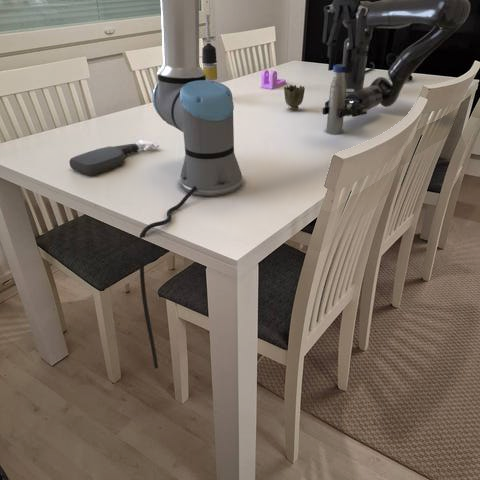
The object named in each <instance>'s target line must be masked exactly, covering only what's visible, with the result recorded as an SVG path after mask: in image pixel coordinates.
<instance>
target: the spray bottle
mask: <svg viewBox="0 0 480 480" xmlns="http://www.w3.org/2000/svg"><path fill="white" fill-rule="evenodd" d="M159 148H160V145H159V144H158V143H155V142H151V141H148V140H144V139H139V140H138V141H137V142H135V143H129V144H128V143H126V144H122V145H113V146H105V147H100V148H97V149H94V150H90V151H87V152H83V153H81V154H78V155H74V156H73V157H70V159H69V161H68V162H69V167H70V168H71V169H72V170H74V171H75V172H78V173H81V174H83V175H85V176H89V177H90V176H91V177H92V176H95V175H99V174H102V173H105V172H107V171H110V170H113V169H116V168H118V167H120V166H122V165H123V164H124V163H125V158H126V156H127V155H131V154H133V153H138V151H140V150H143V151H144V152H146V151H147V150H149V149H159Z"/></svg>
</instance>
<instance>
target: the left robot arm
mask: <svg viewBox="0 0 480 480" xmlns="http://www.w3.org/2000/svg"><path fill="white" fill-rule="evenodd" d="M360 1H361V0H333V1H332V3H331V4H329V5H324V6H323V12H324V21H323V31H322V32H323V33H322V43H323V44H325V45H327V58H328V67H327V70H328V71H333V65H335V64H337V59H338V45H337V44H338V43H337V40H338V37H339V34H340V31H341V27H342V24H343V20H344V19H346V23H347V26H348V28H347V37H348V38H349V46H350V47H349V48H348V49H347V54H346V63H345V73H350V72H352V67H353V61H355V59H356V52H357V48H358V47H361V46H363V45H364V38H365V29H366V19H367V15H368V13H369V8H368V7H366V8H365V7H363V6H361V2H360ZM358 11H359V12H358ZM357 12H358V14H359V16H358V23H357V29H356V21H357V19H356V13H357ZM160 13H161V16H160V17H161V36H162V37H161V39H162V58H163V59H162V61H163V64H162V66H161V67H160V68H159V69H158V71H157V83H156V85H155V86H154V87H153V91H152V105H153V107H154V110H155V112H156V113H157V115H158V116H159V117H160V118H161V119H162V120H163V121H164V122H165V123H166V124H168V125H169V126H171V127H174V128H176V129H177V130H179V131H180V132H182V133H183V141H184V142H183V143H184V154H185V155H184V158H183V164H182V168H181V171H180V177H179V178H180V179H179V183H180V184H179V185H180V188H181V189H182V191H184V192H186V194H185V196H183V198H182V199H181V200H180V201H179V202H178V203H177V204H176V205H174V206H172V207H170V208H169V209H168V210H166V217H167V218H166V219H164V220H161V221H160V220H159V221H156V222H151V223H150V224H148V225H146V226H145V227H144V228H143V229H142V231H141V232H140V235H139V238H140V239H143V238H144V237H145V236H146V234H147V233H148V232H149V230H151V229H153V228H156V227H159V226H165V225H167V224H168V223H170V222H171V220H172V213H173V212H175V211H177V210H178V209H180V208H181V207H182V206H183V205H184V204H185V203H186V202H187V200H188V199H189V198H190V197H191V196H192V195H194V196H199V197H221V196H224V195H229V194H232V193H234V192H235V191H237V190H239V189H240V188H241V187H242V185H243V174H242V171H241V168H240V165H239V163H238V160H237V157H236V154H235V132H234V131H235V130H234V127H235V126H234V109H235V105H234V100H233V93H232V91H231V89H230V88H229V87H228V86H227V85H226V84H223V83H221V82H219V81H215V82H211V81H208V80H206V73H205V71H204V70H203V67H201V65H200V0H160ZM139 278H140V290H141V298H142V299H141V300H142V306H143V311H144V312H143V313H144V317H145V324H146V328H147V333H148V338H149V339H148V340H149V343H150V348H151V356H152V361H153V368H154V369H158V368H159V365H158V358H157V350H156V345H155V340H154V335H153V334H154V333H153V330H152V324H151V318H150V313H149V307H148V300H147V292H146V282H145V281H146V280H145V262H144V261H141V260H139Z"/></svg>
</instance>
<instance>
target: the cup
mask: <svg viewBox="0 0 480 480" xmlns="http://www.w3.org/2000/svg"><path fill="white" fill-rule="evenodd" d="M283 90H284V91H283V92H284V101H285V103H286V105H287V106H288V110H289V111H292V112H295V111H298V110H299V106H300V105H302V103H303V101H304V97H305V91H306V87H305V85H304V86H302V85H299V86H297V85H292V84H290V85H289V86H288V85H286V86H284V88H283Z"/></svg>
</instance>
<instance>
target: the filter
mask: <svg viewBox="0 0 480 480" xmlns="http://www.w3.org/2000/svg"><path fill="white" fill-rule="evenodd" d="M210 17H211V14H204V18H205V27H206V29H205V30H206V31H205V33H206V39H207V40H206V42H207V43H206V45H204V46H202V49H201V50H202V51H201V52H202V54H201V55H202V57H201V58H202V61H201V63H202V69H203V70H204V71H205V73H206V80H207V81H211V82H216V80H218V64H216V63H218V61H217V48H216V47H215V46H214V45H212V43H210V42H211V40H210V39H211V31H210V29H211V28H210Z"/></svg>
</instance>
